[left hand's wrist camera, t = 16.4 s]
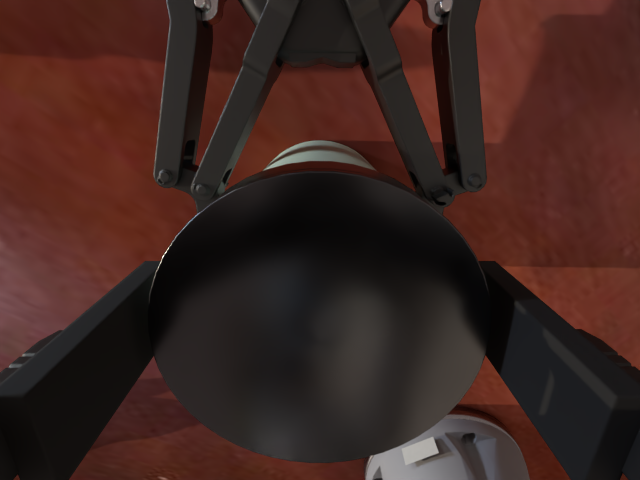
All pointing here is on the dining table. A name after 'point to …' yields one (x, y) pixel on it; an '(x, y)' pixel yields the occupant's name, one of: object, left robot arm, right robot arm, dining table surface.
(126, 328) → the left robot arm
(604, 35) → the dining table surface
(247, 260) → the lid
